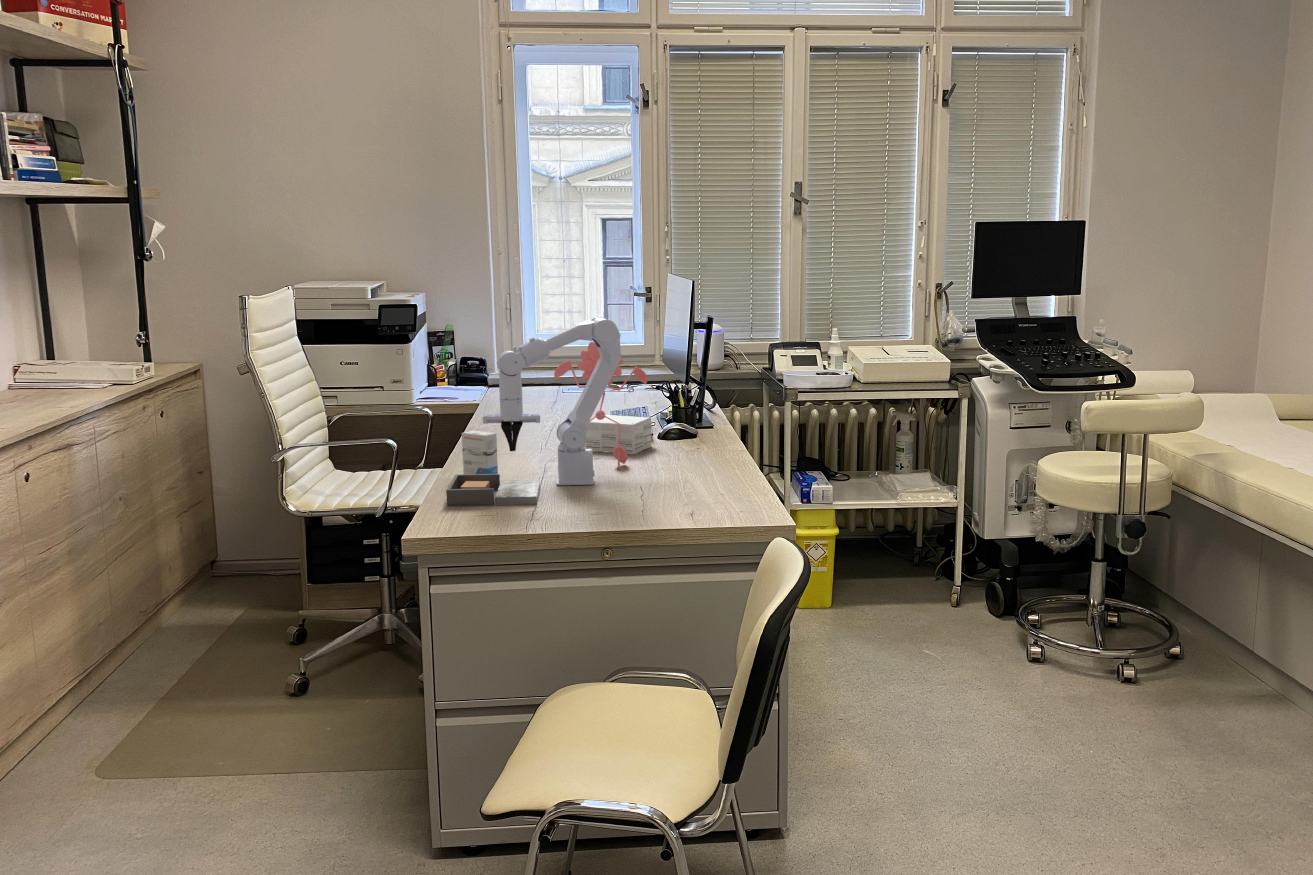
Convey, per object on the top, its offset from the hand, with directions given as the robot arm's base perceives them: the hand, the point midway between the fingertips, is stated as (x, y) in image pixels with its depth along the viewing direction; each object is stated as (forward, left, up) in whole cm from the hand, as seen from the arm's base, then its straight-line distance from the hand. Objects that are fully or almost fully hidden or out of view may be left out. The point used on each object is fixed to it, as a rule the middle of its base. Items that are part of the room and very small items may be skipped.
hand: (512, 450), depth 260 cm
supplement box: (-28, -45, -10) cm, 54 cm away
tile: (+9, +9, -9) cm, 16 cm away
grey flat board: (-2, +11, -9) cm, 15 cm away
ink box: (+10, -13, -10) cm, 19 cm away
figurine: (-23, -23, -10) cm, 34 cm away
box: (+9, +11, -9) cm, 17 cm away
